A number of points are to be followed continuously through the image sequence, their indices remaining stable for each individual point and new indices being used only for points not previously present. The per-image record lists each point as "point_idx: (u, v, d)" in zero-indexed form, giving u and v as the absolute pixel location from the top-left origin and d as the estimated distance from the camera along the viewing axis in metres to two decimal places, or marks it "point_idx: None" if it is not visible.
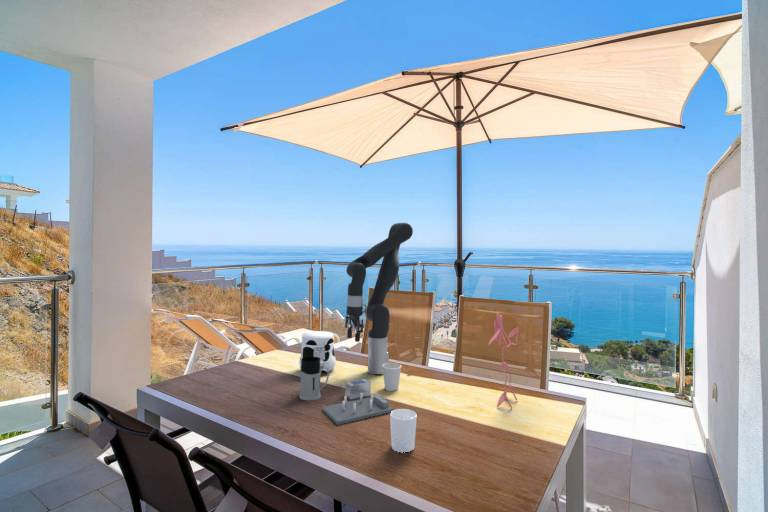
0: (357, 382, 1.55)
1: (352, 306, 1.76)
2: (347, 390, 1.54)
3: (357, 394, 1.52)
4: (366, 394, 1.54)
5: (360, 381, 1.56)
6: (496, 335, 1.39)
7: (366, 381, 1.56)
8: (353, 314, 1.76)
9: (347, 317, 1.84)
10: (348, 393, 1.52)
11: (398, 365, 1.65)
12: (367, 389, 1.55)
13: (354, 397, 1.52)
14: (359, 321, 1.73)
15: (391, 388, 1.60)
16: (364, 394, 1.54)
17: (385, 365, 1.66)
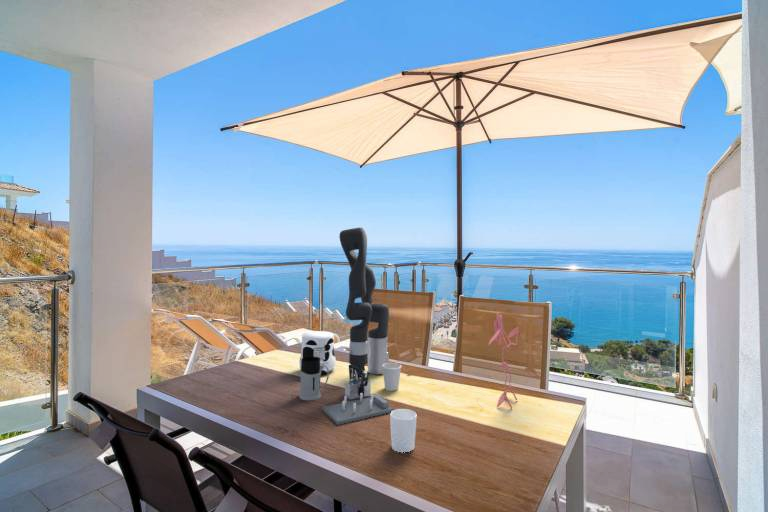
0: (357, 382, 1.55)
1: (355, 354, 1.52)
2: (346, 390, 1.54)
3: (357, 394, 1.52)
4: (366, 393, 1.54)
5: (360, 381, 1.56)
6: (496, 335, 1.39)
7: None
8: (357, 363, 1.51)
9: (350, 366, 1.60)
10: (348, 393, 1.52)
11: (398, 365, 1.65)
12: (367, 389, 1.54)
13: (354, 397, 1.52)
14: (364, 375, 1.49)
15: (391, 388, 1.60)
16: (364, 393, 1.54)
17: (385, 365, 1.66)
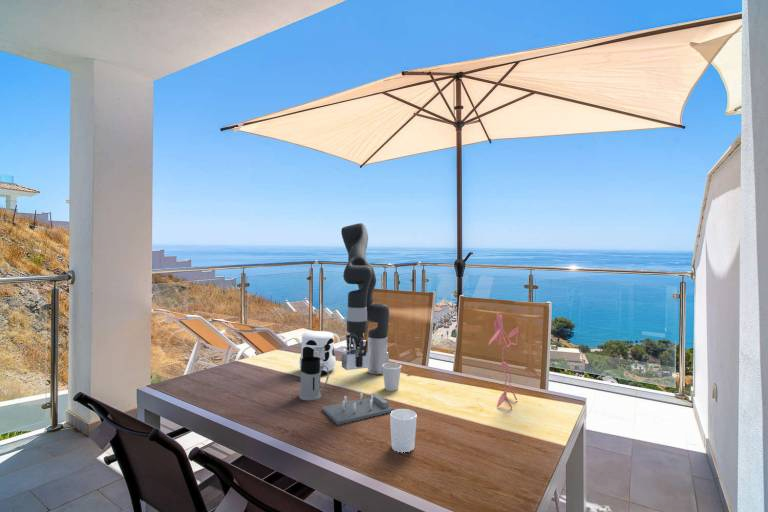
0: (355, 352, 1.41)
1: (353, 321, 1.38)
2: (343, 360, 1.40)
3: (354, 365, 1.39)
4: (365, 365, 1.41)
5: (358, 351, 1.42)
6: (496, 335, 1.39)
7: None
8: (355, 331, 1.38)
9: (348, 336, 1.46)
10: (344, 363, 1.39)
11: (398, 365, 1.65)
12: (365, 360, 1.41)
13: (351, 367, 1.38)
14: (362, 343, 1.36)
15: (391, 388, 1.60)
16: (362, 364, 1.40)
17: (385, 365, 1.66)
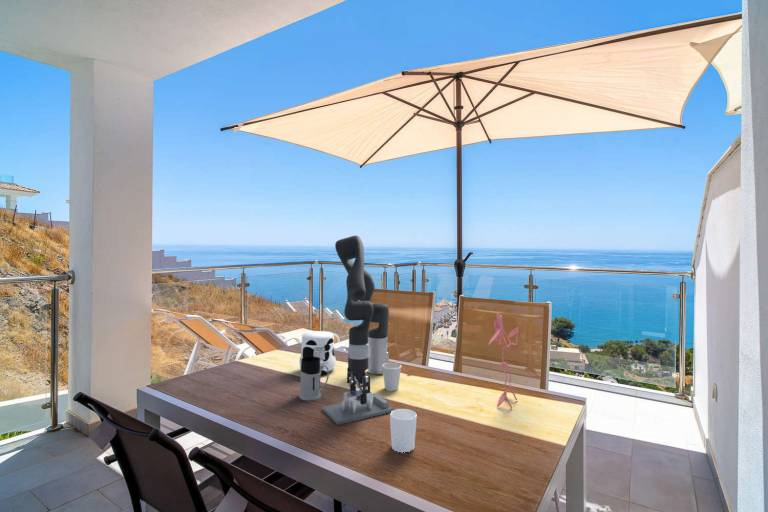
0: (357, 393, 1.39)
1: (355, 359, 1.36)
2: (345, 402, 1.38)
3: (356, 406, 1.37)
4: (367, 406, 1.39)
5: None
6: (496, 335, 1.39)
7: None
8: (357, 369, 1.36)
9: (349, 369, 1.44)
10: (347, 405, 1.37)
11: (398, 365, 1.65)
12: (367, 400, 1.39)
13: None
14: (365, 379, 1.33)
15: (391, 388, 1.60)
16: (364, 406, 1.38)
17: (385, 365, 1.66)
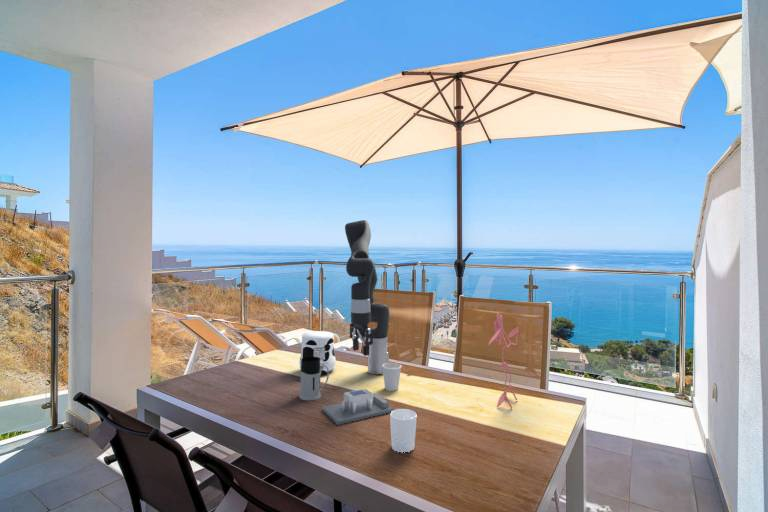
0: (357, 393, 1.39)
1: (358, 313, 1.42)
2: (345, 402, 1.38)
3: (356, 406, 1.37)
4: (367, 406, 1.39)
5: (360, 391, 1.40)
6: (496, 335, 1.39)
7: (367, 391, 1.41)
8: (360, 322, 1.42)
9: (352, 325, 1.50)
10: (347, 405, 1.37)
11: (398, 365, 1.65)
12: (367, 400, 1.39)
13: None
14: (368, 331, 1.40)
15: (391, 388, 1.60)
16: (364, 406, 1.38)
17: (385, 365, 1.66)
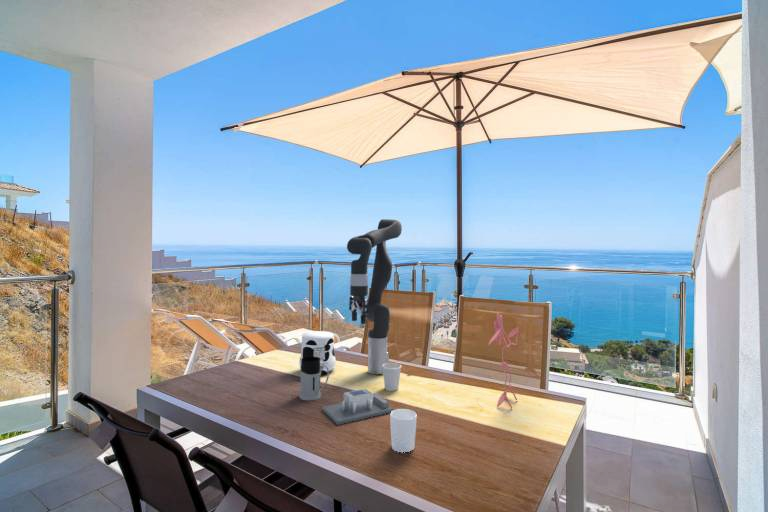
0: (357, 393, 1.39)
1: (356, 285, 1.60)
2: (345, 402, 1.38)
3: (356, 406, 1.37)
4: (367, 406, 1.39)
5: (360, 391, 1.40)
6: (496, 335, 1.39)
7: (367, 391, 1.41)
8: (358, 294, 1.60)
9: (351, 298, 1.68)
10: (347, 405, 1.37)
11: (398, 365, 1.65)
12: (367, 400, 1.39)
13: None
14: (364, 301, 1.58)
15: (391, 388, 1.60)
16: (364, 406, 1.38)
17: (385, 365, 1.66)
